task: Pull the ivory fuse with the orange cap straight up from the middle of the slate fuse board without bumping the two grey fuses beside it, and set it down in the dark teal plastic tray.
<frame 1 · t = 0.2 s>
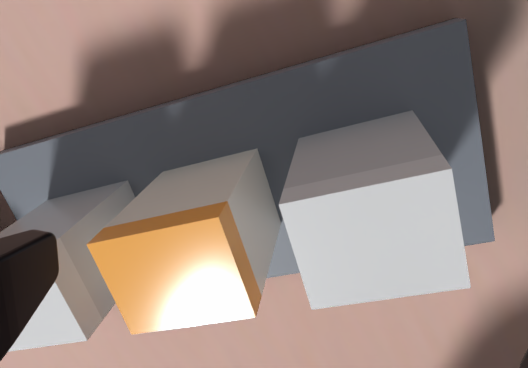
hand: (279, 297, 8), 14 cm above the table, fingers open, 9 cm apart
grey fuse 1: (363, 166, 19), point 1 cm above the table, touching fuse board
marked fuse: (221, 197, 21), point 1 cm above the table, touching fuse board
grey fuse 2: (102, 223, 23), point 1 cm above the table, touching fuse board
fuse board: (228, 185, 23), on the table
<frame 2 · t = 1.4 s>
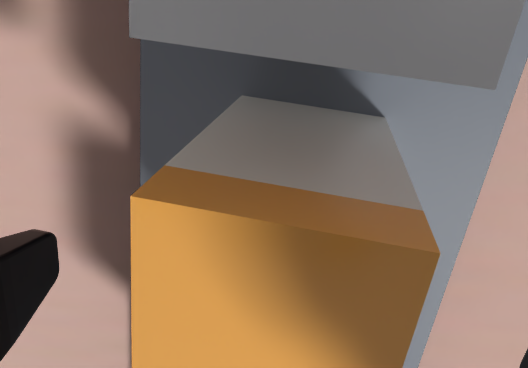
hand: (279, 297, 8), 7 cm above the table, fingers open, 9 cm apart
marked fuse: (298, 188, 13), point 1 cm above the table, touching fuse board
fuse board: (302, 170, 14), on the table
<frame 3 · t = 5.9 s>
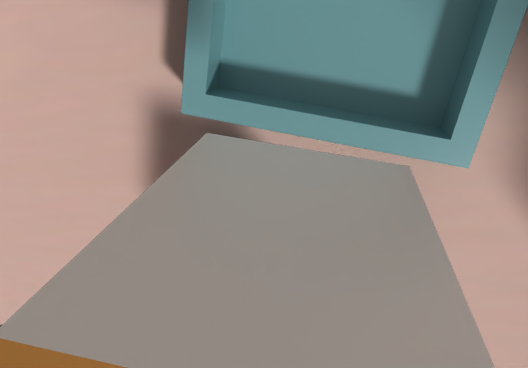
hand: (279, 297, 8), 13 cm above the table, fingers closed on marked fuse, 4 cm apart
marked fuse: (287, 256, 9), point 12 cm above the table, touching gripper
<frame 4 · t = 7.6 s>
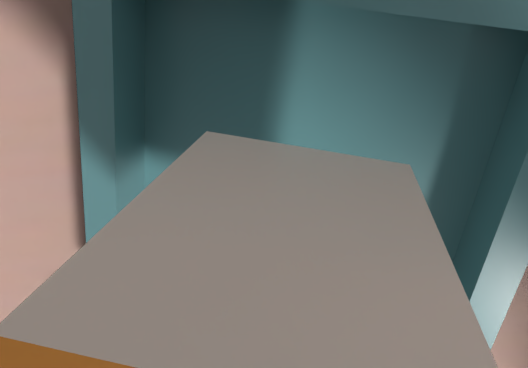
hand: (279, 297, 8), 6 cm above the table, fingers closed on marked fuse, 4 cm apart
teal tray: (302, 175, 14), on the table
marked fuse: (287, 255, 9), point 5 cm above the table, touching gripper
when the fingers open (4 cm above the table, at t = 8.8 s): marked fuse drops 1 cm, resting on teal tray.
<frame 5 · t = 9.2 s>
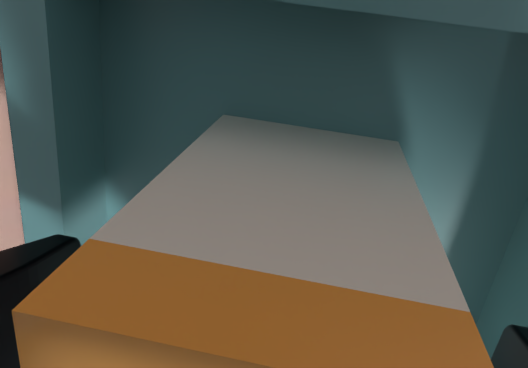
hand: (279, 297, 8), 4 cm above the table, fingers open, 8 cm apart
teal tray: (296, 211, 11), on the table
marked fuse: (293, 223, 11), point 1 cm above the table, touching teal tray
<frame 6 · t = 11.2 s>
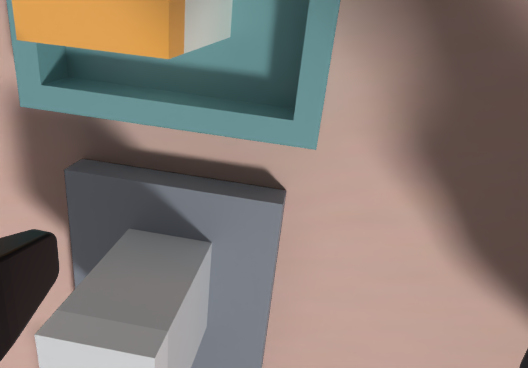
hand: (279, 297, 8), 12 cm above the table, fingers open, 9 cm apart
grey fuse 1: (169, 279, 21), point 1 cm above the table, touching fuse board
fuse board: (176, 361, 25), on the table
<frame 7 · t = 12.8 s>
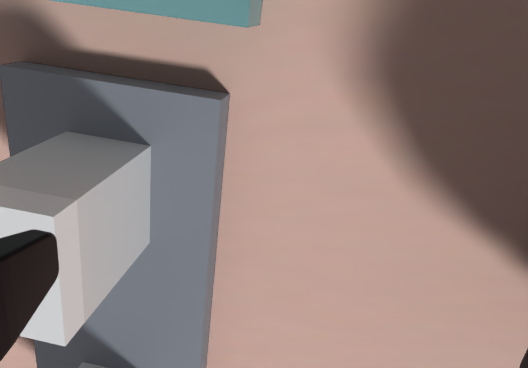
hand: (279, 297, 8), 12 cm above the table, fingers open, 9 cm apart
grey fuse 1: (109, 189, 20), point 1 cm above the table, touching fuse board
fuse board: (126, 290, 24), on the table
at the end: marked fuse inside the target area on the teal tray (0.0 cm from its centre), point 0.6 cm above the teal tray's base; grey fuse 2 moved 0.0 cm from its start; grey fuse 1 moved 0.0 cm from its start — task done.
